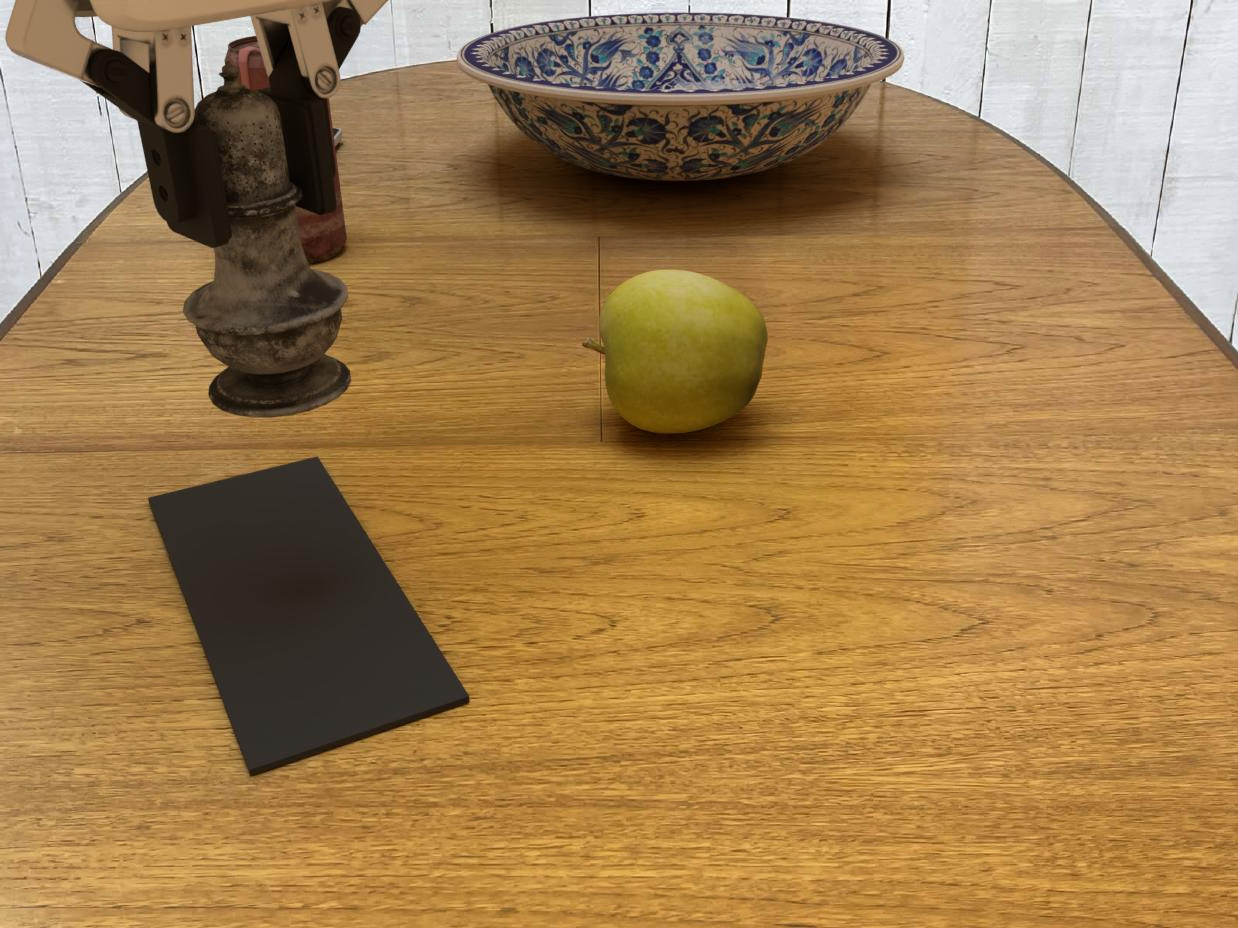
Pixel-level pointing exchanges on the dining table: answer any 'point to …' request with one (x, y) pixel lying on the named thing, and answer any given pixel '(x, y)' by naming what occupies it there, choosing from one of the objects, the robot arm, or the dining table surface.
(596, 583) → the dining table surface
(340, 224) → the can
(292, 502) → the black mat
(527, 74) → the ceramic bowl
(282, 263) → the salt shaker
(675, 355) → the apple
